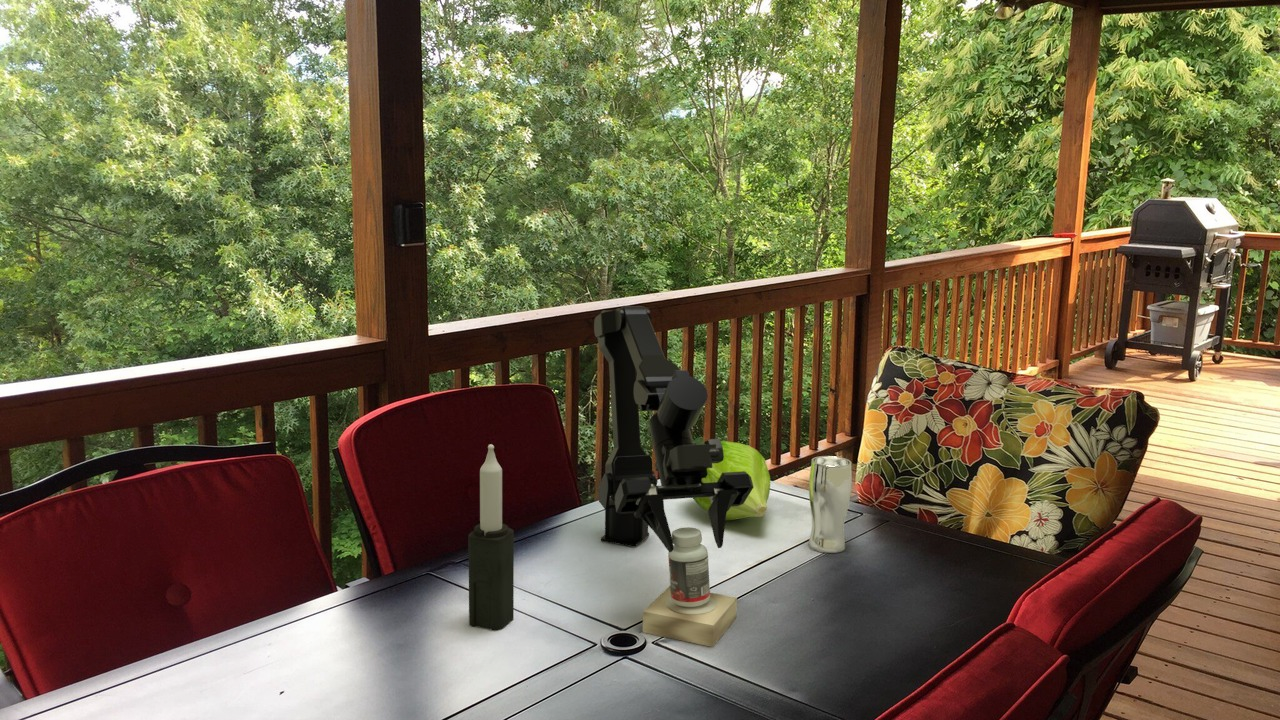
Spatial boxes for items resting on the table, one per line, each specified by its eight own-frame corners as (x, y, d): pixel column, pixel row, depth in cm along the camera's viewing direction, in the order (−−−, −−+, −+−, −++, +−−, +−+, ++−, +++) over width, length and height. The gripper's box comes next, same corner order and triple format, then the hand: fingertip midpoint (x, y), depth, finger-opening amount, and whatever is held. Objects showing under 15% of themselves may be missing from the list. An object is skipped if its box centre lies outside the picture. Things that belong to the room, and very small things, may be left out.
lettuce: (799, 543, 177) (720, 562, 172) (745, 481, 196) (673, 497, 192) (802, 471, 171) (720, 489, 166) (746, 415, 190) (671, 430, 186)
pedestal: (642, 632, 134) (643, 609, 134) (669, 604, 144) (670, 583, 143) (712, 646, 131) (713, 623, 130) (736, 617, 140) (737, 595, 139)
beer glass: (845, 540, 172) (850, 456, 169) (849, 555, 165) (855, 467, 162) (804, 538, 172) (809, 454, 170) (807, 553, 165) (811, 465, 163)
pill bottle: (664, 598, 138) (660, 530, 136) (698, 589, 140) (694, 522, 139) (682, 611, 133) (678, 541, 131) (717, 602, 135) (713, 533, 134)
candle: (516, 616, 138) (516, 441, 134) (499, 631, 134) (499, 450, 129) (483, 611, 140) (482, 438, 136) (465, 625, 135) (464, 446, 131)
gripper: (621, 420, 133) (641, 527, 125) (751, 415, 138) (779, 517, 130) (606, 462, 142) (624, 563, 134) (729, 455, 147) (754, 553, 139)
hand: (696, 548), depth 134 cm, fingers open, 7 cm apart
